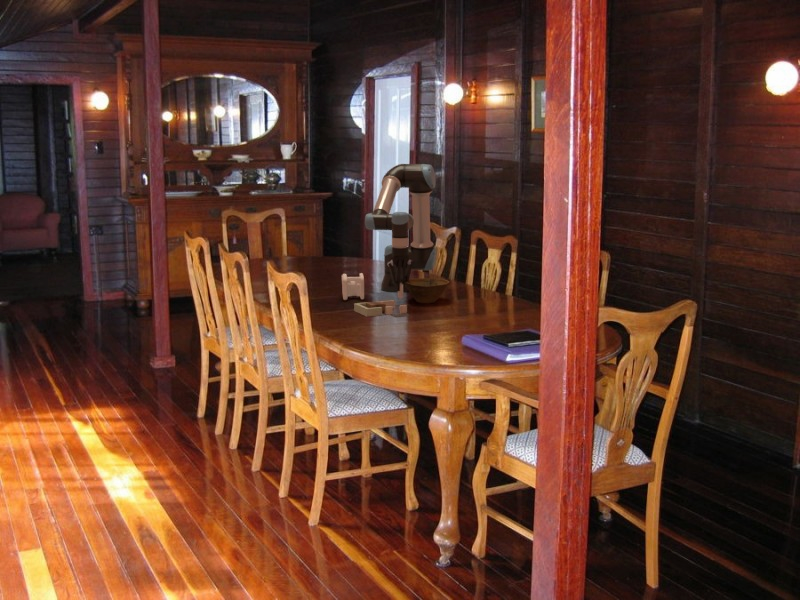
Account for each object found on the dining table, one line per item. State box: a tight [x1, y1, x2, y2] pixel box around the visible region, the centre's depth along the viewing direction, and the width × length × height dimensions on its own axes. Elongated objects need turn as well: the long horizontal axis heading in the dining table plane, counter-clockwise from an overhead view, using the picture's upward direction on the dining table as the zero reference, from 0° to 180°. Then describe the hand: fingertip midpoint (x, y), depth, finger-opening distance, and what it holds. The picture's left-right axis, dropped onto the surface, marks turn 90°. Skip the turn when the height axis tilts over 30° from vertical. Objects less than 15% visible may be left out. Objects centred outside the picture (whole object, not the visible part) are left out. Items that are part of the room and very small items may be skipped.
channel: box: [376, 299, 408, 316], centre depth 419 cm, size 10×14×4 cm
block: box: [366, 301, 386, 315], centre depth 415 cm, size 7×6×4 cm
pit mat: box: [390, 313, 411, 318], centre depth 410 cm, size 7×6×1 cm
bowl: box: [405, 277, 450, 304], centre depth 441 cm, size 22×23×10 cm
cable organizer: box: [341, 272, 365, 301], centre depth 448 cm, size 15×11×12 cm
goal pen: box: [353, 301, 383, 318], centre depth 414 cm, size 8×14×4 cm, turn 26°
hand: (400, 297), depth 422 cm, fingers closed
